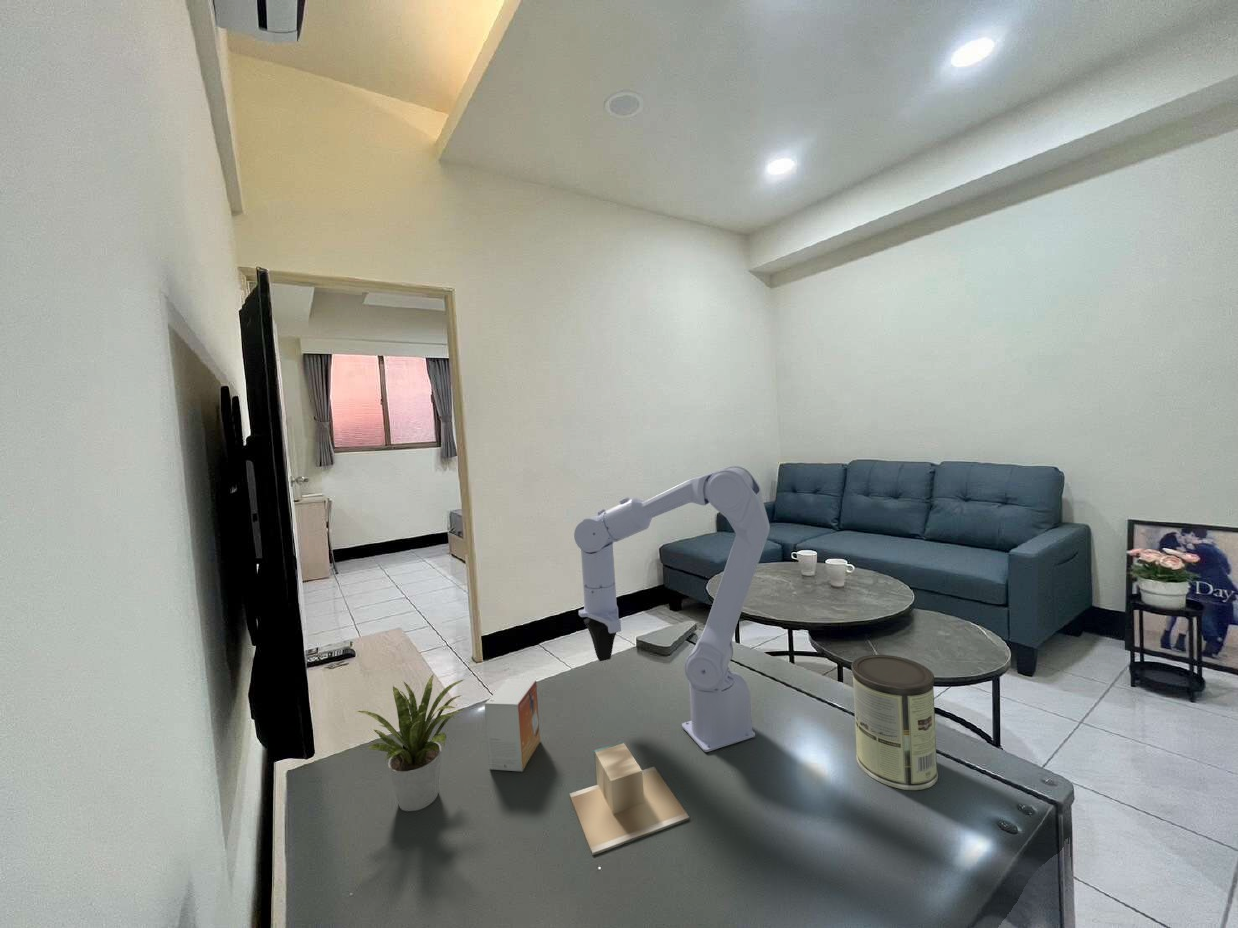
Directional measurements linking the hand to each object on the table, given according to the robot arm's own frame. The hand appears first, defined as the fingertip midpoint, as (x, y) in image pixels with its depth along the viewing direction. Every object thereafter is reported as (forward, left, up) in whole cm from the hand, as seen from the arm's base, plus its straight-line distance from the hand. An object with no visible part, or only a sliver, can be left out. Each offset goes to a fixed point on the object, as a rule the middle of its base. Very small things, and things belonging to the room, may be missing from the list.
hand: (604, 658), depth 87 cm
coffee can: (-33, +31, -11) cm, 47 cm away
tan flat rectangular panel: (+5, +22, -10) cm, 25 cm away
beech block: (+5, +16, -8) cm, 18 cm away
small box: (+17, +4, -11) cm, 20 cm away
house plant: (+30, +8, -11) cm, 33 cm away
